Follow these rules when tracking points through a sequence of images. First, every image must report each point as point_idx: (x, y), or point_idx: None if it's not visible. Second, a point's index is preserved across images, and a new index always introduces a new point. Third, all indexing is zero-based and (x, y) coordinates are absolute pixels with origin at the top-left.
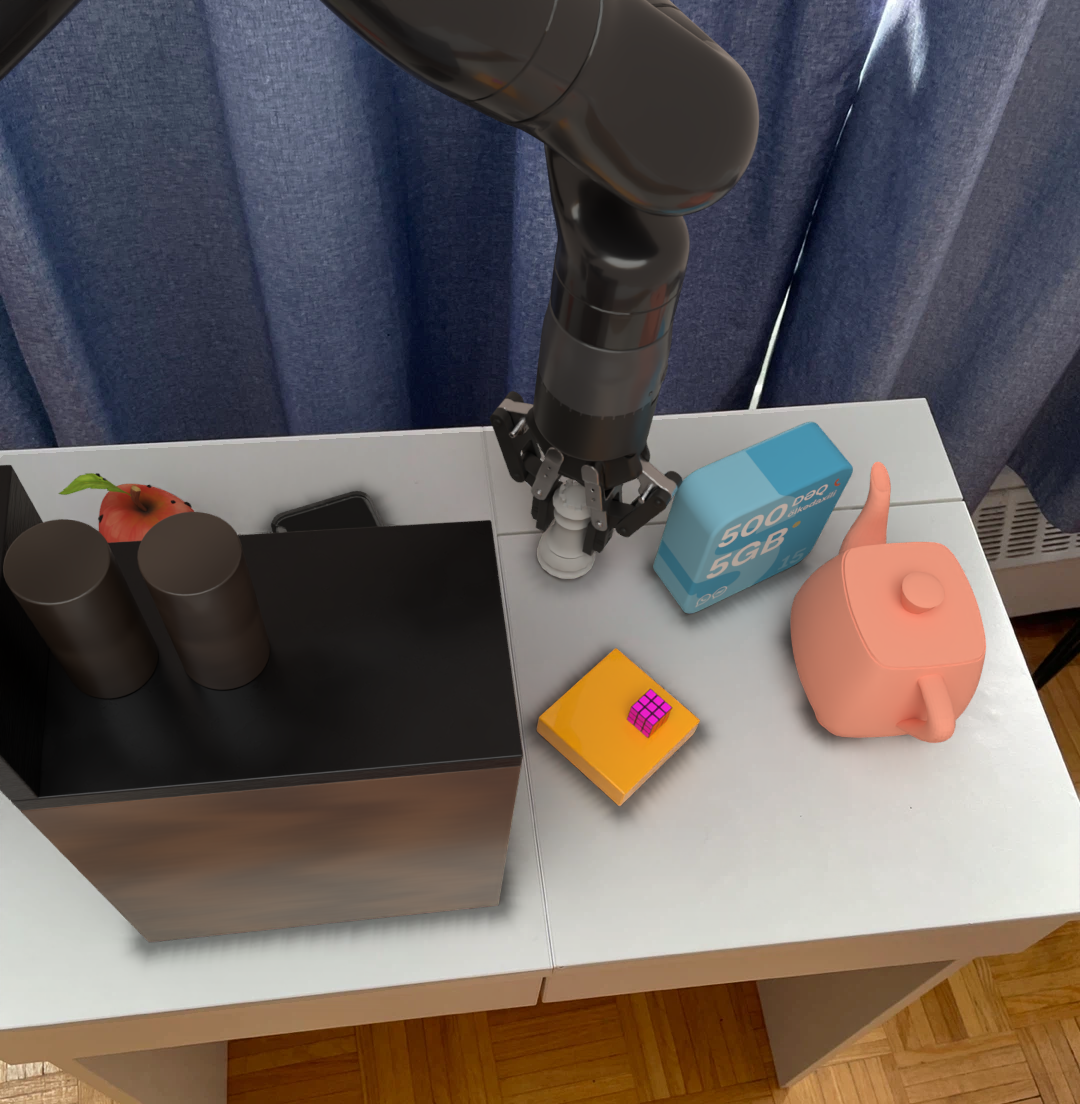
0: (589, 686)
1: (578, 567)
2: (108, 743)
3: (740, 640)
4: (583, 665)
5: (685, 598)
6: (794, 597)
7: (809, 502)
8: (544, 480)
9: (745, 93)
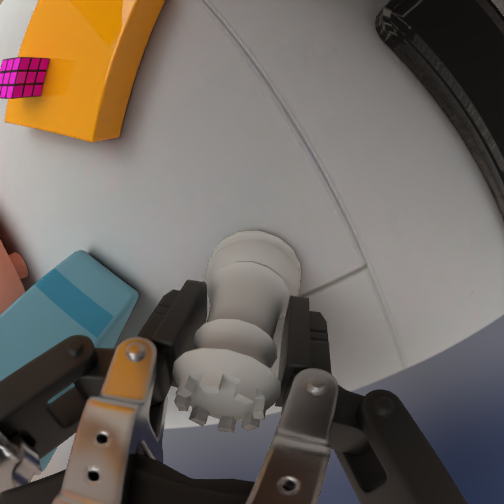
0: (99, 59)
1: (215, 256)
2: None
3: (46, 244)
4: (149, 109)
5: (64, 263)
6: (11, 301)
7: None
8: (295, 459)
9: None
